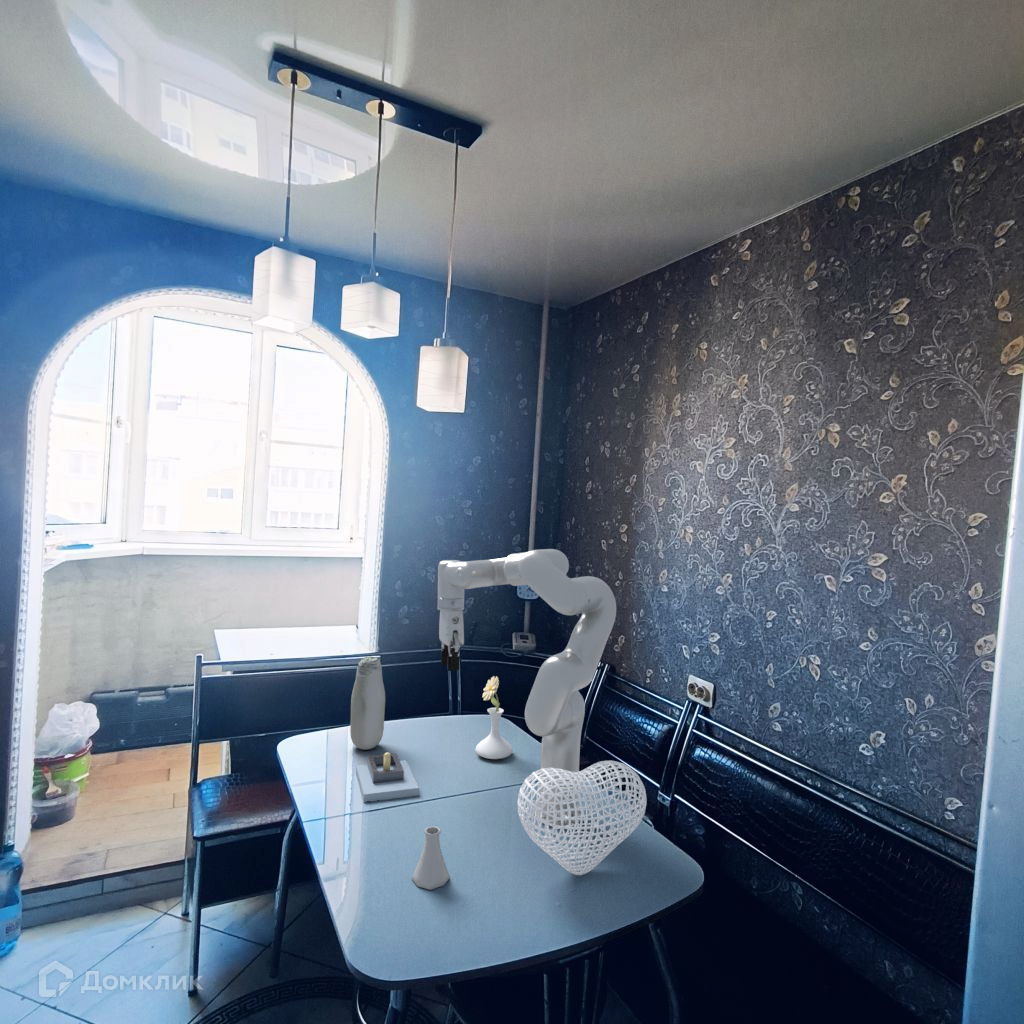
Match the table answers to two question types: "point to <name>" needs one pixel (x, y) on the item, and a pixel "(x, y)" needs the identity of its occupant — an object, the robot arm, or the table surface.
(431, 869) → the flask
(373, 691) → the tall cream vase
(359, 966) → the table surface
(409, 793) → the board
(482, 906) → the table surface
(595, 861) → the heart
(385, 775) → the steel link
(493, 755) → the flower in vase
